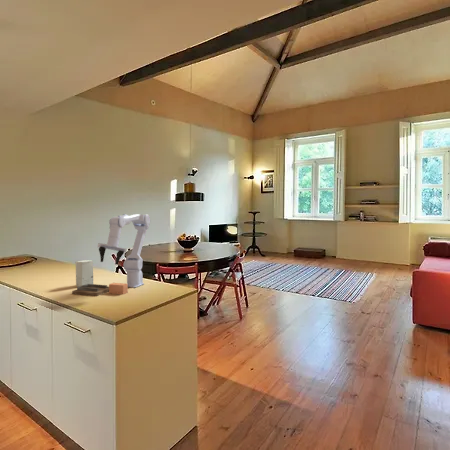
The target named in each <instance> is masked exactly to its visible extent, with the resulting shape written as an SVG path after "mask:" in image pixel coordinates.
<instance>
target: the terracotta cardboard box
mask: <svg viewBox="0 0 450 450" xmlns="http://www.w3.org/2000/svg"><path fill="white" fill-rule="evenodd" d="M108 287H109V292H108V293H109V294H115V295H125V294H128V292H129V290H128V288H129V287H128V284H127V283H123V282H112V283H109V284H108Z"/></svg>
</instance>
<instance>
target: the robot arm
mask: <svg viewBox="0 0 450 450" xmlns="http://www.w3.org/2000/svg"><path fill="white" fill-rule="evenodd" d="M131 222H132V225H133V227H134V229H135V230H137V232H136V236H135V239H134V242H133V246H132V250H131V253H130V254H129V255H127V256H126V257H125V260H124V262H123V265H122V266H123V269H124V270H125V272H126V284H128V288H138V287H140V286H142V285H145V283H144V281H143V280H144V277H143V275H144V274H143V271H142V269H143V261H144V259H143V258H142V257H141V253H142V249H143V245H144V242H145V238H146V234H147V230H149V227H150V223H151V217H150V215H149V214H148V213H145V214H143V213H133V214H130V215H129V214H126V213H123V214H122V215H117V216H112V217H111V218H110V219H109V220H108V223H109V224H108V225H109V228H108V229H109V233H108V238H107V243H106V244H105V243H100V242H99V243H98V244H97V248H98V252H99V255H100V256H99V257H100V263H103V262H104V260H105V259H104V258H105V253H106V250H110V251H115V252H116V259H115V262H114V265H118V264H119V261H120V260H121V258H122V256H123V255H124V254H125V253H126V252H127V248H124V247H122V246H119V243H120V238H121V233H122V230H123V229H122V228H124V227H125V226H126V225H130V224H131Z"/></svg>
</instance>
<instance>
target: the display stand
mask: <svg viewBox="0 0 450 450" xmlns="http://www.w3.org/2000/svg"><path fill="white" fill-rule="evenodd" d="M71 293H72V295H73V294H74V295H81V296H82V295H84V296H92V297H98V296H101V295H103V294H105V293H109V286H108V285H106V284H97V283H96V284H95V283H93V284H85V285H82V286H76V289H74V290H72V292H71Z"/></svg>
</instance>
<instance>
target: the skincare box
mask: <svg viewBox="0 0 450 450" xmlns="http://www.w3.org/2000/svg"><path fill="white" fill-rule="evenodd" d="M85 284H94V260H91V259H89V260H88V259H85V260H84V259H83V260H78V261H75V286H76V287H79V286H82V285H85Z"/></svg>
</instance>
